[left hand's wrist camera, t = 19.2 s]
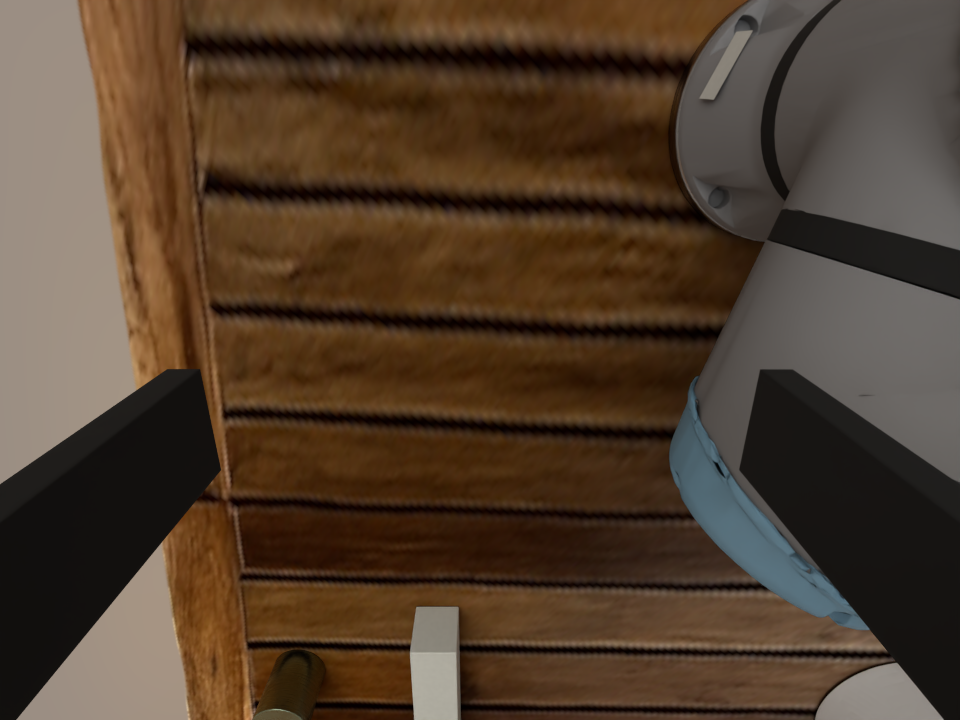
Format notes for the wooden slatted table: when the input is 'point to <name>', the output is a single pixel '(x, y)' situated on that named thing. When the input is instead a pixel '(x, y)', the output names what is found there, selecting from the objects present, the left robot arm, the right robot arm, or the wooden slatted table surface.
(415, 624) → the bar
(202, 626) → the wooden slatted table surface
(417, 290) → the wooden slatted table surface
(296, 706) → the sage tin
